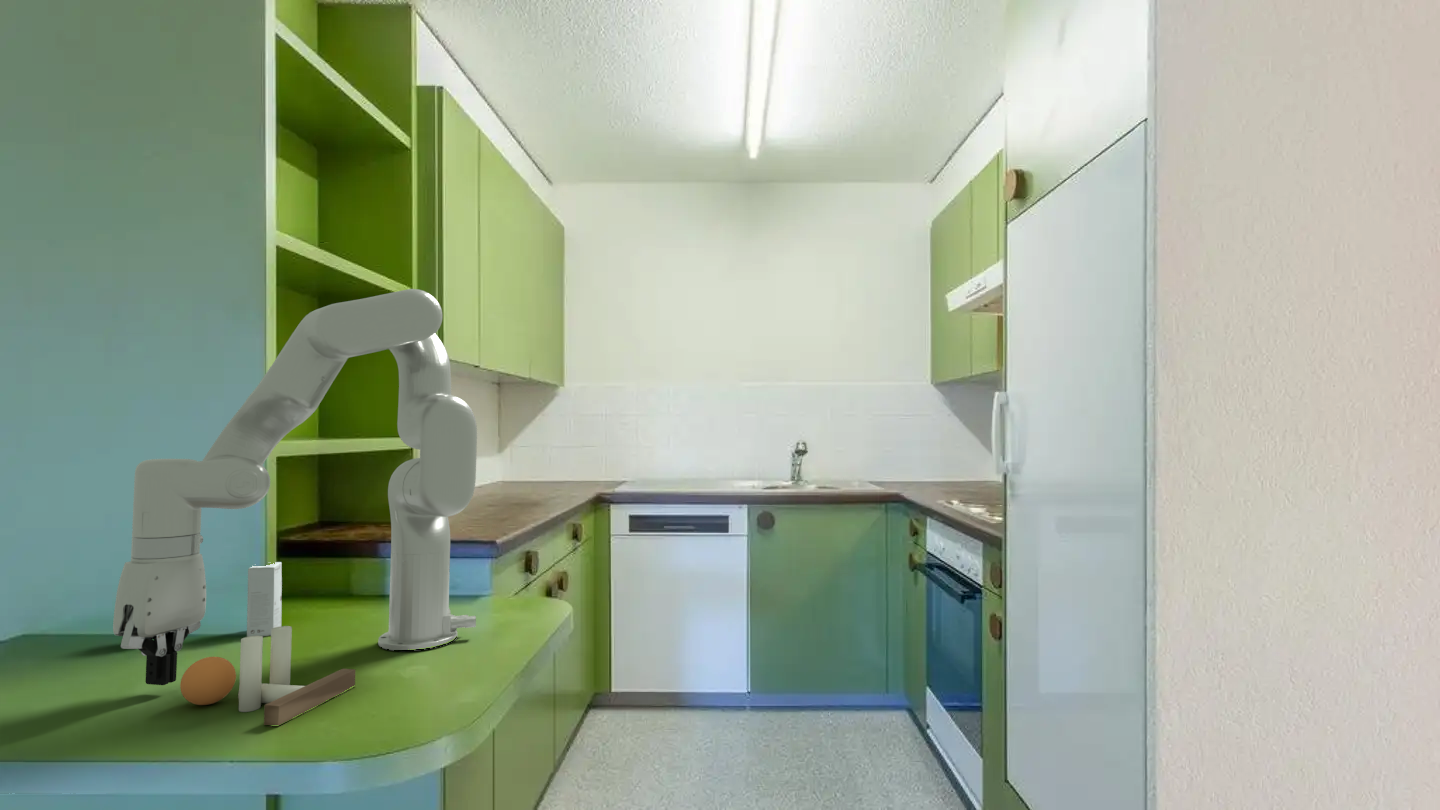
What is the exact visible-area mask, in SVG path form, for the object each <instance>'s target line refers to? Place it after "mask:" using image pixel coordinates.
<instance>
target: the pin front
mask: <svg viewBox="0 0 1440 810" xmlns="http://www.w3.org/2000/svg"><path fill="white" fill-rule="evenodd" d="M304 686H305V685H296V684H295V685H293V684H292V685H291V684H290V685H281V684H270V683H262V682H261V704H268V703H270V702H272V701H274V700H276V699H279V698H281V697H283V696H285V695H287V694H289V693H291V692H294V691H296V690H298V689H300V688H302V687H304ZM237 699H238V700H239V691H238V693H237Z"/></svg>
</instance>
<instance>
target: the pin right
mask: <svg viewBox="0 0 1440 810" xmlns="http://www.w3.org/2000/svg"><path fill="white" fill-rule="evenodd" d="M292 631H293V627H292V626H289V625H283V626H282V625H281V626H280V627H275V628H273V629H271V635H270V658H269V659H270V661H269V665H270V666H269V684H281V685H291V670H292V669H291V664H292V663H291V662H292V639H293V638H292V633H293V632H292Z"/></svg>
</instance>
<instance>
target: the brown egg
mask: <svg viewBox="0 0 1440 810" xmlns="http://www.w3.org/2000/svg"><path fill="white" fill-rule="evenodd" d="M236 680H237V673H236V669H235V667H234V665H233V664H232V663H231V661H229V660H228V659H226V658H224V657H220V656H207V657H204V658H200V659H199V660H197V661H195V662H194V663H192V664H191V665H190V666H189V667H187V669H185V671H184V673H183V675H182V676H181V679H180V684H179V687H180V691H181V692H180V693H181V695H182V696H183V698H185V700H186V701H188V703H191V704H193V705H197V706H207V705H213V704H215V703H217V702H219V701H221V700H223V699H224V698H225V697H227V696H228V694H229V693H230V692H231V691H232V690H233V687H234V686H235V683H236Z"/></svg>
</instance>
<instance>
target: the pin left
mask: <svg viewBox="0 0 1440 810" xmlns="http://www.w3.org/2000/svg"><path fill="white" fill-rule="evenodd" d="M263 639H264V636H249V637H248V636H245V637H243V638H241V639H240V652H239V653H240V654H239V655H240V657H239V662H240V663H239V685H238V686H239V690H238V692H239V699H238V712H241V713H247V712H253V711H257V710H259V709H260V708H261V707H262V706H261V705H262V703H261V683H262V679H263V678H262V676H263V674H262V673H263V646H264V645H263V643H264V640H263Z"/></svg>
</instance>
